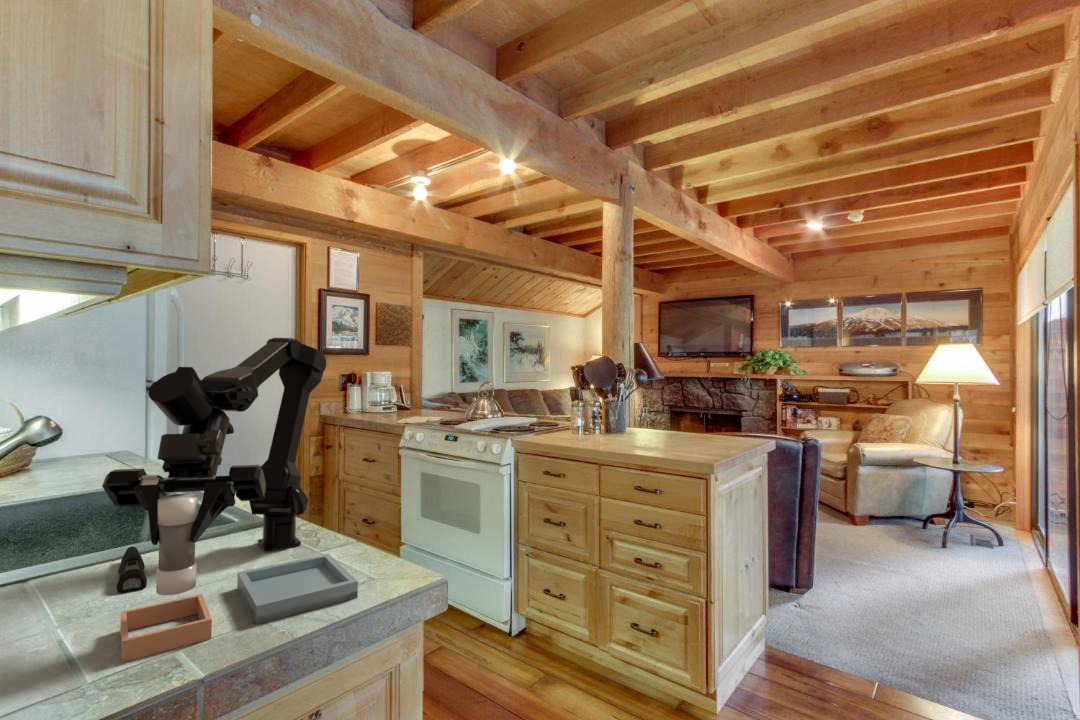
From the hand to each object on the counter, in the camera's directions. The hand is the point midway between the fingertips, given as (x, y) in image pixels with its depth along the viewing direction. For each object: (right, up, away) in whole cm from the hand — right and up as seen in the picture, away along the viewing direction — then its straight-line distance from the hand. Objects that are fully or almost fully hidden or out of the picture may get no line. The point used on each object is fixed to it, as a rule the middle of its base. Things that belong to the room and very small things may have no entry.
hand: (173, 542), depth 70 cm
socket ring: (-1, -12, +1) cm, 12 cm away
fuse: (-1, -7, +1) cm, 7 cm away
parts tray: (+10, -12, +14) cm, 21 cm away
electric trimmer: (-20, -12, +18) cm, 29 cm away
